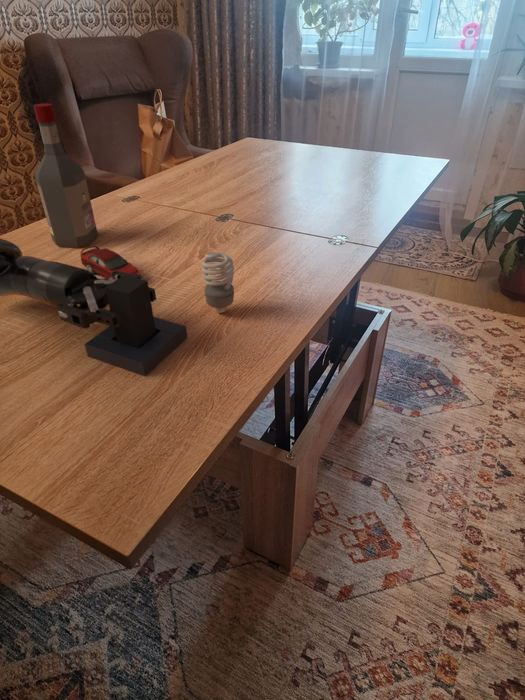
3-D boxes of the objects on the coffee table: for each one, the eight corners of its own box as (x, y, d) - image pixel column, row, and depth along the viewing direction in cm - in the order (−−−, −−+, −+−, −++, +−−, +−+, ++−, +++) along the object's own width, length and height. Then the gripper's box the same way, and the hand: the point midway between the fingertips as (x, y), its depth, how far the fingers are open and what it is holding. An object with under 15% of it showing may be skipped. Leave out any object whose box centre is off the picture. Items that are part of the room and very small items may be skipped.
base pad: (145, 376, 75) (142, 363, 73) (87, 356, 79) (84, 344, 78) (187, 337, 83) (186, 325, 82) (133, 321, 88) (131, 310, 86)
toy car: (103, 261, 108) (99, 240, 105) (143, 282, 100) (139, 260, 97) (81, 269, 105) (76, 248, 102) (120, 292, 97) (116, 269, 94)
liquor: (101, 234, 121) (73, 101, 103) (86, 249, 114) (52, 109, 96) (67, 232, 122) (33, 100, 104) (49, 247, 114) (10, 108, 97)
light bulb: (200, 316, 89) (194, 257, 82) (214, 302, 93) (209, 244, 86) (227, 323, 87) (224, 262, 80) (240, 308, 91) (238, 249, 84)
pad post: (141, 357, 79) (128, 293, 72) (119, 350, 81) (104, 287, 74) (158, 343, 82) (147, 280, 75) (136, 336, 84) (124, 274, 77)
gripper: (21, 284, 75) (102, 308, 69) (87, 249, 85) (162, 268, 79) (35, 324, 79) (112, 350, 73) (96, 287, 89) (167, 307, 83)
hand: (137, 307), depth 76 cm, fingers open, 8 cm apart
